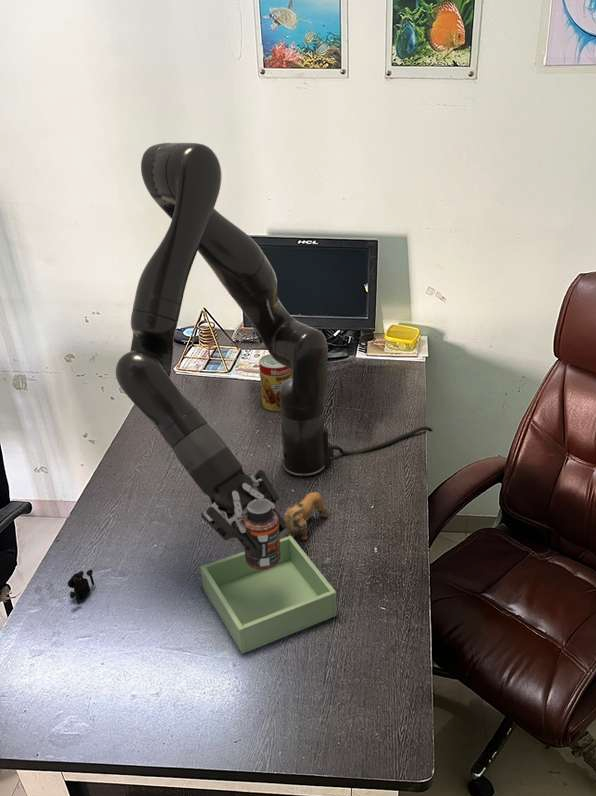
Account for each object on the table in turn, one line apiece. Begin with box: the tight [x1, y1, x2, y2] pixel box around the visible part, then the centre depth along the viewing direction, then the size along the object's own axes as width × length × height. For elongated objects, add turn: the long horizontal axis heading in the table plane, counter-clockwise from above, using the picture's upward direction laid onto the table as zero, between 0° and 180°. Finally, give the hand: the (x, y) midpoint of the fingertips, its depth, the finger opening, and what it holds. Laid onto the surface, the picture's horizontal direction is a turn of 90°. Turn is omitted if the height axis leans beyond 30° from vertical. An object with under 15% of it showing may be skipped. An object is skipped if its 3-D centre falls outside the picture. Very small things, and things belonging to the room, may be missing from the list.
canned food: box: [258, 353, 293, 412], centre depth 186 cm, size 8×8×12 cm
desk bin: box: [200, 536, 337, 655], centre depth 130 cm, size 18×18×6 cm
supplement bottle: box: [243, 499, 281, 570], centre depth 122 cm, size 6×6×11 cm
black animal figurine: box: [67, 569, 95, 605], centre depth 130 cm, size 7×2×5 cm, turn 168°
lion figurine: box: [283, 491, 328, 541], centre depth 146 cm, size 15×5×9 cm, turn 163°
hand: (270, 540), depth 122 cm, fingers closed on supplement bottle, 6 cm apart
